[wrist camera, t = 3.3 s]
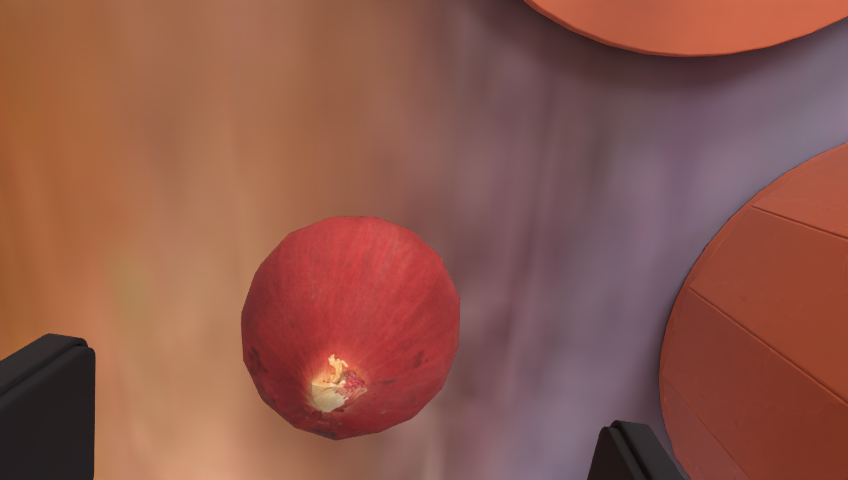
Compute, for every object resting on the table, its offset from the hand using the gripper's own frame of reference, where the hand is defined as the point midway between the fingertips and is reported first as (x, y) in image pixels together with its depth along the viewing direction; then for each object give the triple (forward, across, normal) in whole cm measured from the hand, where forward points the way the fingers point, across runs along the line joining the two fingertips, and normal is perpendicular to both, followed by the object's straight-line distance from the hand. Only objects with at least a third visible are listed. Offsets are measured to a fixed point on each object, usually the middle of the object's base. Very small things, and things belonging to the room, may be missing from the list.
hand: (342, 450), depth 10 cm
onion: (+9, +1, 0) cm, 9 cm away
